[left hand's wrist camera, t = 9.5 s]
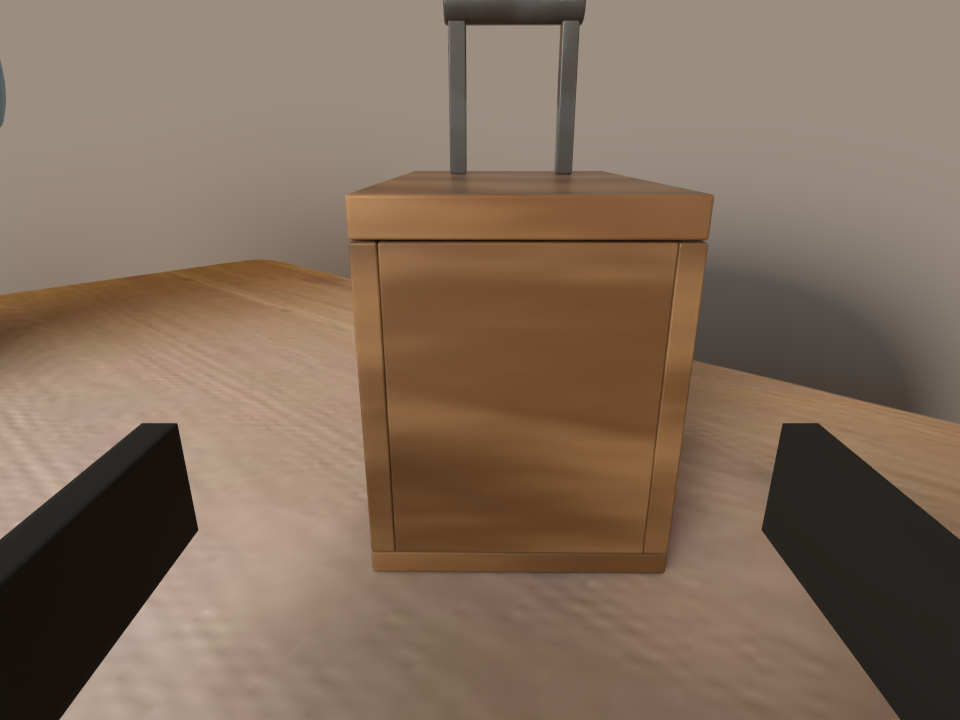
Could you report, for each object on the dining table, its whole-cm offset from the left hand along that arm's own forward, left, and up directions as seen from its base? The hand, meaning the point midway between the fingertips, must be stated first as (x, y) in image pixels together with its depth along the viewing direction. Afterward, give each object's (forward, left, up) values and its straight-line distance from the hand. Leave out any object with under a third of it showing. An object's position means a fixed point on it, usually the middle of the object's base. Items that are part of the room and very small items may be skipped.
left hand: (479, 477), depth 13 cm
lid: (+8, -8, +5) cm, 12 cm away
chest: (+8, -8, -6) cm, 13 cm away
